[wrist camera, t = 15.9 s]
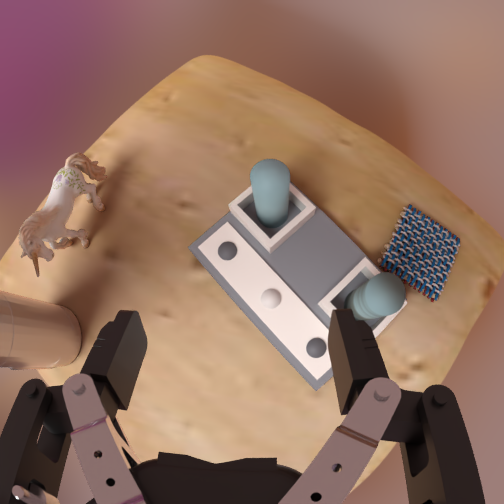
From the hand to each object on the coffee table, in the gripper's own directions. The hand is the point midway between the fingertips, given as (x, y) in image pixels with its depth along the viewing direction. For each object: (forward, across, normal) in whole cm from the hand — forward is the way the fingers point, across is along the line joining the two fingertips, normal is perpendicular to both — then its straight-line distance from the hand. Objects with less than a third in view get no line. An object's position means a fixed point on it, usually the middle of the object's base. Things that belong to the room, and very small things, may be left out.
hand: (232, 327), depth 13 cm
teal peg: (+19, -13, +16) cm, 28 cm away
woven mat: (+25, -23, +12) cm, 36 cm away
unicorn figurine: (+29, +23, +10) cm, 38 cm away
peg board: (+23, -6, +14) cm, 27 cm away
